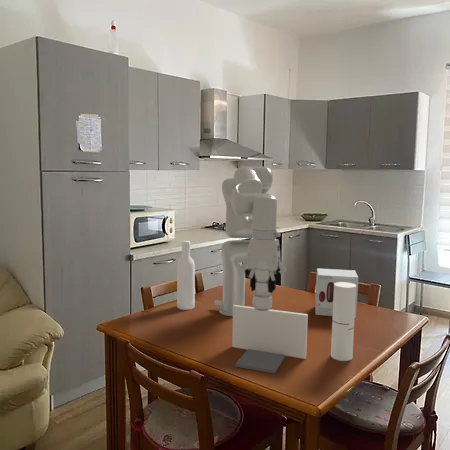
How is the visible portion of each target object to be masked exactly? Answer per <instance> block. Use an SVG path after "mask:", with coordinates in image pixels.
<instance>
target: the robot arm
mask: <svg viewBox="0 0 450 450" xmlns="http://www.w3.org/2000/svg"><path fill="white" fill-rule="evenodd" d="M273 180H274V179H273V173H272V171H271V169H270V168H268V167H267V166H256V165H255V166H251V165H250V166H248V165H247V166H240V167H239V168H237V169H236V170H235V171H234V173H233V177H230V178H226V179H224V180H223V182H222V183H221V191H222V195H223V200H224V201H225V206H226V207H225V208H226V209H225V234H226V236H227V237H229V238H231V239H232V240H231V239H230V240H226V241H224V242H223V243H222V245H221V251H220V252H221V259H222V300H216V299H215V300H214V303H213V304H214V306H215V307H219V309H218V313H220V315H223V316H226V317H233V306H234V305H240V306H246V305H245V302H246V301H245V300H246V299H245V298H246V297H245V295H246V294H245V293H246V290H245V289H246V275H247V276H248V278H249V287H250V288H251V292H254V289H255V274H254V270H255V264H256V263H257V262H258V261H264V262H265V263H267V264H268V266H269V271H270V276H271V280H270V285H269V292H270V293H271V294H272V293H273V292H275V290H276V287H277V286H276V285H277V284H276V283H277V279H278V278H279V277H280V276H281V275H283V274H284V273H286V272H287V268H286V266H285V265H284V264H283V263H282V262H281V248H280V247H281V245H280V240H279V239H277V238H278V237H279V238H280V237H281V232H280V231H279V232H278V229H277V217H278V216H277V214H278V212H277V211H278V201H277V198H276V197H275V196H274V195H272V194H270V193H268V192H269V191H270V189H271V187H272V185H273ZM233 239H235V240H233ZM244 239H245V240H244ZM240 263H241V265H240ZM278 269H279V271H278V272H277V270H278Z"/></svg>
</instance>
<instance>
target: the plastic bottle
mask: <svg viewBox="0 0 450 450" xmlns="http://www.w3.org/2000/svg"><path fill="white" fill-rule="evenodd" d="M254 274H255V289H254V291H253V297H252V307H254V309H256V310H260V311H266V310H270V309H271V308H272V306H273V296H272V293H270V292H269V285H270V280H271V276H270V271H269V266H268V264H267V263H265V262H264V261H258V262H257V263H256V264H255V270H254Z"/></svg>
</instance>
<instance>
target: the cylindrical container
mask: <svg viewBox="0 0 450 450" xmlns="http://www.w3.org/2000/svg"><path fill="white" fill-rule="evenodd" d="M355 300H356V285H355V284H353V283H348V282H337V283H334V297H333V316H332V320H331V321H332V322H331V345H330V348H331V349H330V357H331V358H332V359H334V360H336V361H340V362H349V361H351V360H352V359H353V357H354V356H353V355H354V354H353V353H354V336H355V335H354V334H355V319H356V318H355Z"/></svg>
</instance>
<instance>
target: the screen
mask: <svg viewBox="0 0 450 450" xmlns="http://www.w3.org/2000/svg"><path fill="white" fill-rule="evenodd" d="M308 320H309V314H308V313H301V312H292V311H285V310H277V309H271V308H270V310H266V311H260V310H256V309H254V307H253V306H247V305H245V306H240V305H234V306H233V316H232V335H231V336H232V337H231V339H232V340H231V341H232V344H231V347H232V348H235V349H243V350H248V349H252V350H258V351H264V352H270V353H276V354H283V355H285V357H291V358H292V357H293V358H298V359H303V360H304V359H306V358H307V351H308V349H307V347H308V345H307V344H308V325H309V324H308V322H309V321H308Z"/></svg>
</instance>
